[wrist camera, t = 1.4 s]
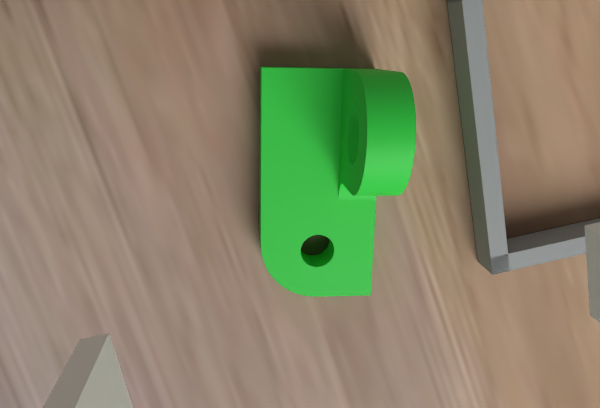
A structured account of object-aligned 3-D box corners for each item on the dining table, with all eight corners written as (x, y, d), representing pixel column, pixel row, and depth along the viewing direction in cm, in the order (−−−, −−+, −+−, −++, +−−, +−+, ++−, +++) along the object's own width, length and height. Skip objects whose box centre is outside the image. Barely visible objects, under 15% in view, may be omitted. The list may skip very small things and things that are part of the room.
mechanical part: (260, 66, 30) (267, 71, 22) (374, 68, 30) (420, 74, 23) (259, 283, 33) (265, 354, 25) (362, 281, 33) (400, 350, 26)
